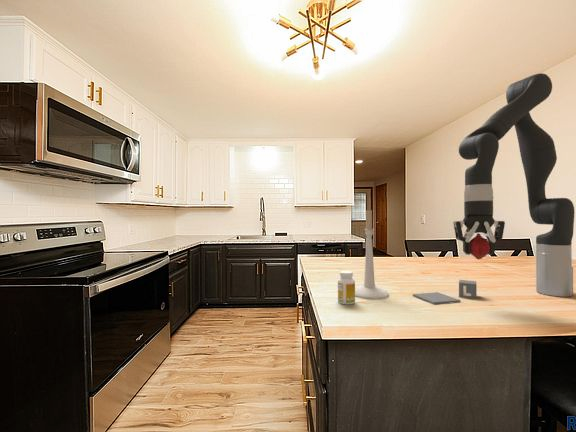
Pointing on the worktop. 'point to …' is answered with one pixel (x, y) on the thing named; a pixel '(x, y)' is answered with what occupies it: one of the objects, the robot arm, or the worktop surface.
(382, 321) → the worktop surface
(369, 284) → the candlestick
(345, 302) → the supplement bottle
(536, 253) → the robot arm
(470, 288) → the marked cube
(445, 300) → the mat
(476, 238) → the onion
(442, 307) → the worktop surface
